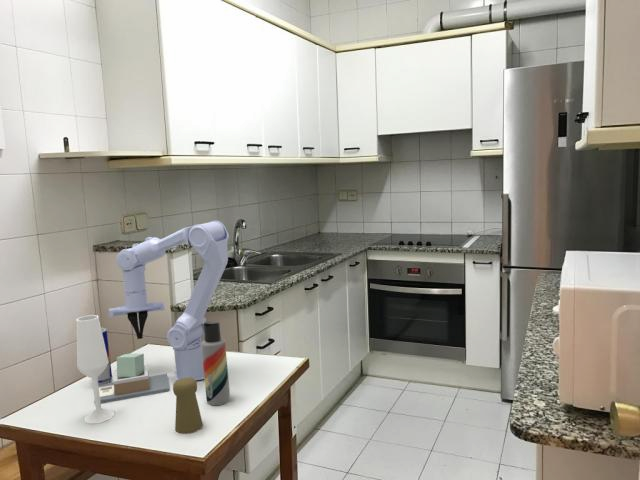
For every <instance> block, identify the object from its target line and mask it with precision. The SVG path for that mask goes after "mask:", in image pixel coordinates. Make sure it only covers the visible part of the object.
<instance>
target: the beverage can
mask: <svg viewBox="0 0 640 480" xmlns="http://www.w3.org/2000/svg"><path fill="white" fill-rule="evenodd" d="M101 330H102V334H103V339H104V343H105V348H106V352H107V357H108V365H107V367H106V369H105V370H104V371H103V372H102V373H101V375H100V376H98V377H97V378H98V385H102V384H108V383H111V381H112V380H113V374H112V373H113V372H112V366H111V365H112V364H111V356H110V349H109V346H110V345H109V339H108V332H107V328H105V327H101Z"/></svg>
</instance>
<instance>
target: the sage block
mask: <svg viewBox="0 0 640 480" xmlns="http://www.w3.org/2000/svg"><path fill="white" fill-rule="evenodd" d="M144 355H145V354H144V353H125V354H122V355H120V356H117V357H116V370H117V377H136V376H138V375H140V374H142V373H144V365H145V356H144Z"/></svg>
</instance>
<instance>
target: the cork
mask: <svg viewBox="0 0 640 480" xmlns="http://www.w3.org/2000/svg"><path fill="white" fill-rule="evenodd" d="M197 391H198V382H197V380H196V381H195V380H194V379H193V378H181V379H179V380H177V381H176V380H175V381H174V383H173V385H172V392H173V394H174V396H175V397H176V399H175V400H176V401H175V422H174V423H175V424H174V431H175V433H178V434H182V435H188V434H193V433H196V432H198V431H199V430H201V429H202V428H203V426H204V423H203V419H202V415H201V411H200V407H199V402H198V399H197V394H196V393H197Z"/></svg>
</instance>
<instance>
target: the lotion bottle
mask: <svg viewBox="0 0 640 480" xmlns="http://www.w3.org/2000/svg"><path fill="white" fill-rule="evenodd" d="M203 325H204V334H203V336H204V340H201V347H202V358H203V369H204V379H203V380H204V389H205V398H206V399H205V400H206V403H207V404H208V405H210V406H220V405H223V404H226V403H228V402H229V401H230V400H231V399H230V398H231V397H230V395H231V394H230V384H229V383H230V381H229V372H228V371H229V369H228V357H227V349H226V339H224V338H222V335H221V334H222V333H221V324H220V322H219V321H206V322H205V323H204V324H203Z"/></svg>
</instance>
